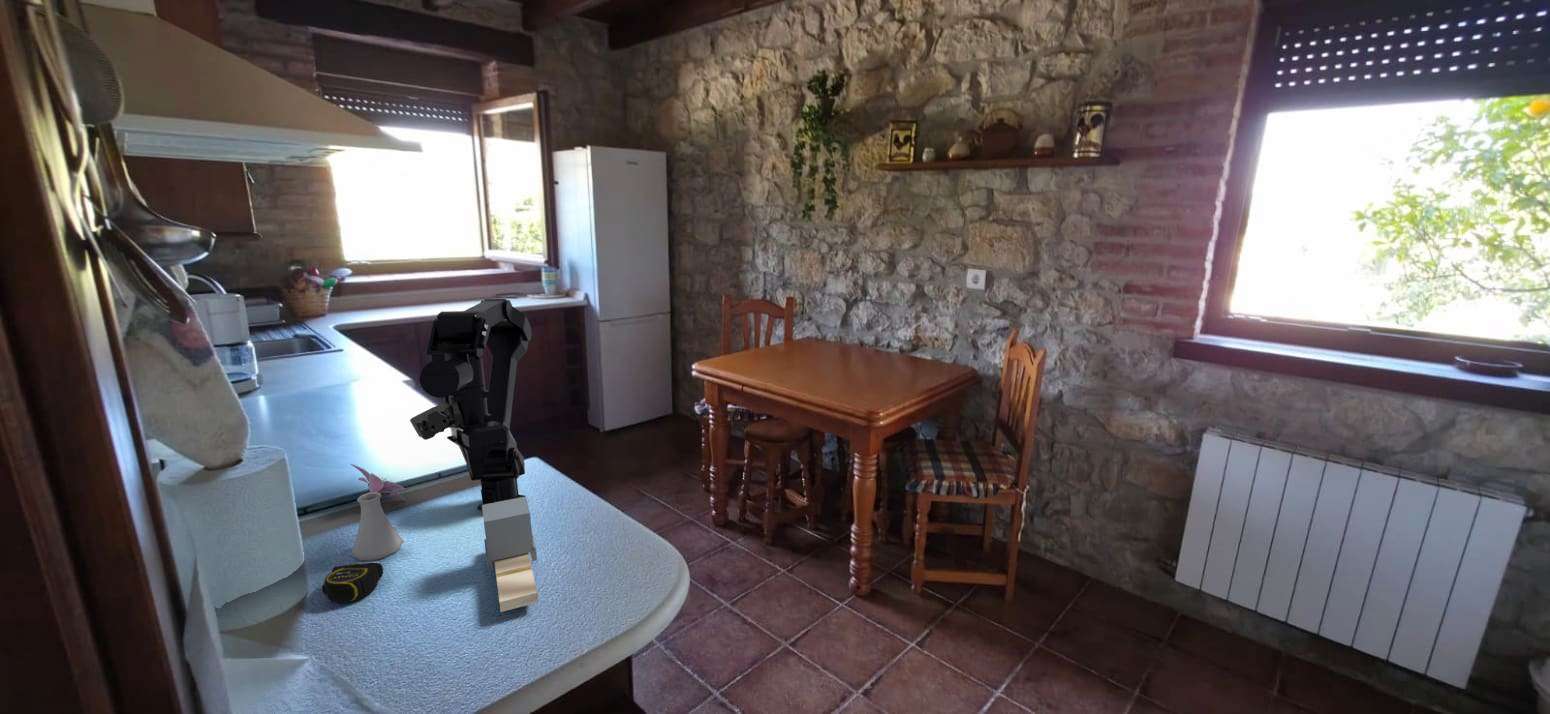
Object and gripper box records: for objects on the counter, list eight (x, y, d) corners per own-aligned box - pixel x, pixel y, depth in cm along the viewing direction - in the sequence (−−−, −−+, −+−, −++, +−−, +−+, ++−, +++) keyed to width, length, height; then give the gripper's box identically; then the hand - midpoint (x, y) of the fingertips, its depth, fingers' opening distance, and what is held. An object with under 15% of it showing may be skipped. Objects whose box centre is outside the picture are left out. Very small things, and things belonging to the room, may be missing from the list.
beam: (493, 550, 107) (491, 534, 106) (524, 543, 109) (523, 527, 108) (501, 621, 90) (499, 602, 89) (539, 611, 92) (537, 592, 91)
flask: (379, 564, 103) (370, 509, 101) (342, 559, 105) (331, 504, 102) (412, 541, 110) (404, 488, 107) (377, 536, 111) (368, 484, 109)
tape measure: (387, 578, 100) (383, 557, 99) (368, 605, 93) (364, 583, 92) (339, 582, 99) (335, 561, 98) (316, 610, 92) (312, 588, 91)
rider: (486, 552, 104) (479, 505, 101) (532, 542, 107) (527, 496, 104) (487, 571, 98) (481, 522, 96) (536, 560, 101) (531, 512, 99)
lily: (409, 518, 119) (420, 471, 121) (341, 514, 113) (355, 464, 115) (396, 515, 127) (407, 470, 130) (332, 510, 121) (345, 463, 123)
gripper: (397, 387, 107) (408, 476, 109) (429, 401, 94) (441, 502, 96) (467, 378, 115) (475, 461, 117) (506, 389, 101) (515, 483, 103)
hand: (475, 476), depth 108 cm, fingers closed
